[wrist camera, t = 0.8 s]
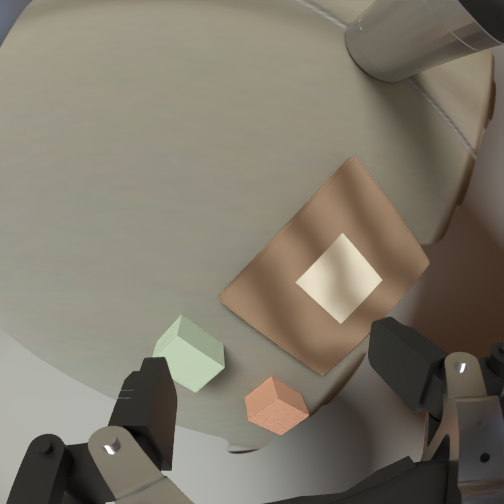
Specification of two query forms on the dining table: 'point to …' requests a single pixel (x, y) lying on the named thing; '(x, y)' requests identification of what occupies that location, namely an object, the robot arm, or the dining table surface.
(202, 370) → the sage green brick
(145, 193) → the dining table surface
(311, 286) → the base board
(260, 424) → the terracotta brick
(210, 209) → the dining table surface
